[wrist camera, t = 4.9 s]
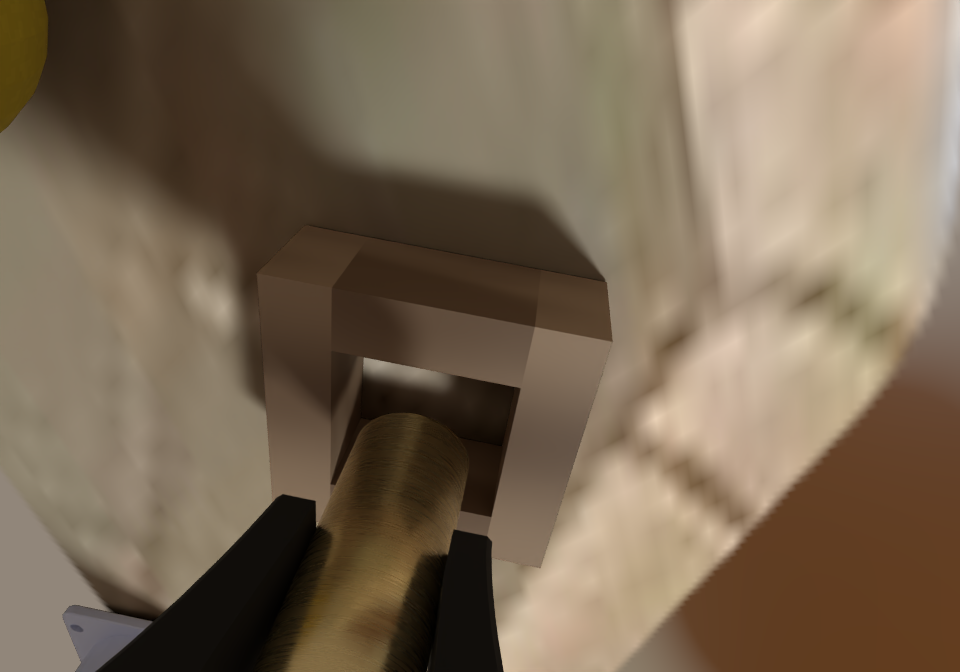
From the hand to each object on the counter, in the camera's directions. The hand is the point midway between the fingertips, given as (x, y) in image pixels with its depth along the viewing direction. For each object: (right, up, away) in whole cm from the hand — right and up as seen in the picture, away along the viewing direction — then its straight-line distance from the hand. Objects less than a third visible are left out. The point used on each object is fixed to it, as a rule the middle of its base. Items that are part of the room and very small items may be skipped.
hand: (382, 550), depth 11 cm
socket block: (+1, +3, +5) cm, 6 cm away
